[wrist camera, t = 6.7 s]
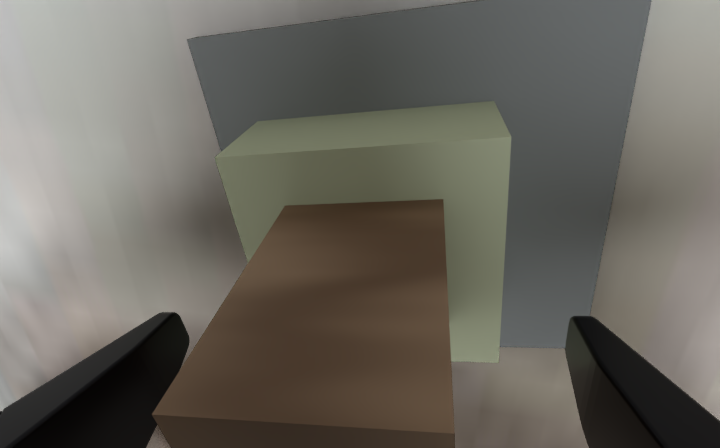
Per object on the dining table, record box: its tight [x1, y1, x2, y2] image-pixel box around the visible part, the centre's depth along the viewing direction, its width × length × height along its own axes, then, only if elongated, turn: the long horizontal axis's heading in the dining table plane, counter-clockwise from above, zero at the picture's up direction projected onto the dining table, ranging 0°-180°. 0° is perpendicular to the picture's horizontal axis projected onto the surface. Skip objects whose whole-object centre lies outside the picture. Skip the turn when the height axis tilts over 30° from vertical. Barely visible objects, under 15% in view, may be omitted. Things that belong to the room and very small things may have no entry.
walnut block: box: [152, 199, 455, 448], centre depth 9 cm, size 4×4×6 cm
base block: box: [214, 101, 511, 363], centre depth 13 cm, size 7×7×3 cm
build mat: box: [187, 0, 651, 348], centre depth 14 cm, size 12×12×1 cm
